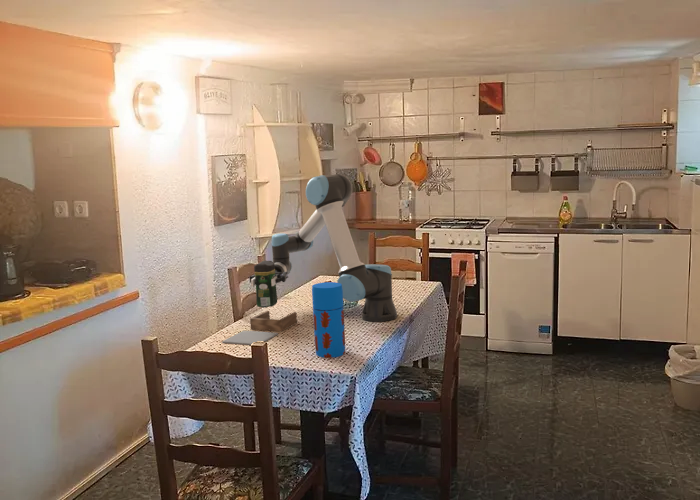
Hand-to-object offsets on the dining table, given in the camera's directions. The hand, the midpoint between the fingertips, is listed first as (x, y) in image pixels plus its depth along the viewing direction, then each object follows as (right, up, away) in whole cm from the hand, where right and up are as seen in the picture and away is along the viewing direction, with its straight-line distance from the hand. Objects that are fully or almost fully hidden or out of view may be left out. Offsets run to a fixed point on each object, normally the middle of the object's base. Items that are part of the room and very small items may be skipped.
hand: (262, 282), depth 273 cm
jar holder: (+4, -18, +10) cm, 22 cm away
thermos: (+29, -24, -32) cm, 49 cm away
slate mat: (-4, -22, -8) cm, 23 cm away
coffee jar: (+1, -10, +6) cm, 12 cm away
